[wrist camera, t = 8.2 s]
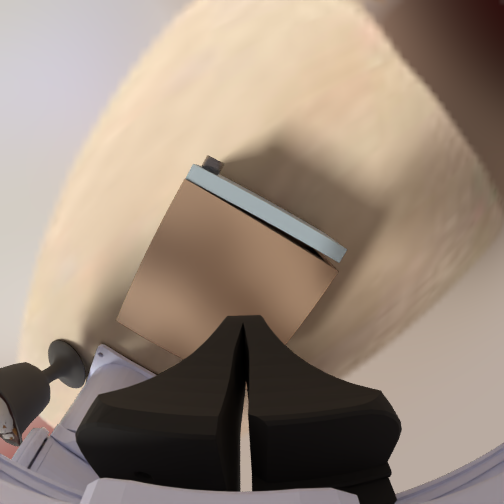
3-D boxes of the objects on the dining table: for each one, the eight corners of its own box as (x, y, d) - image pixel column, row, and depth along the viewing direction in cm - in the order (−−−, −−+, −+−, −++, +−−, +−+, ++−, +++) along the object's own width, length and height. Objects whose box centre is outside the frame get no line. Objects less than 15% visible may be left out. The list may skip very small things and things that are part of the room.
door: (318, 243, 19) (339, 262, 15) (200, 178, 18) (185, 178, 13) (330, 224, 19) (354, 238, 14) (211, 157, 18) (199, 151, 13)
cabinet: (248, 347, 21) (248, 390, 16) (142, 289, 20) (115, 320, 15) (317, 248, 19) (338, 271, 15) (201, 178, 18) (184, 178, 13)
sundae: (94, 349, 21) (-40, 430, 6) (92, 406, 21) (-7, 493, 6) (43, 319, 21) (-82, 366, 6) (44, 375, 22) (-56, 434, 7)
